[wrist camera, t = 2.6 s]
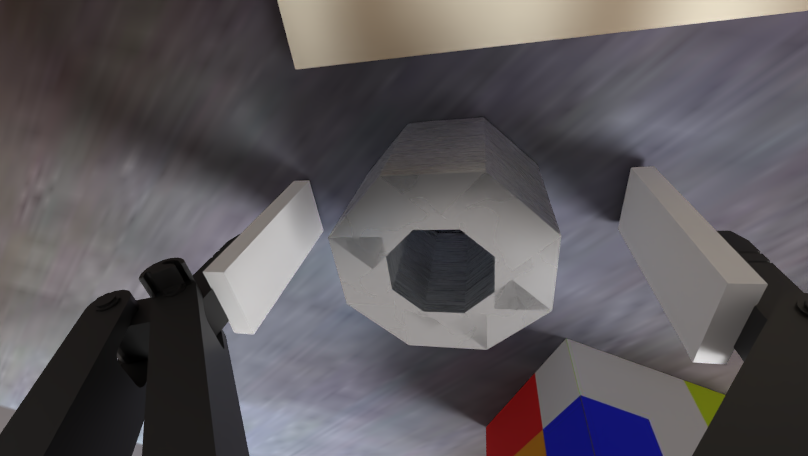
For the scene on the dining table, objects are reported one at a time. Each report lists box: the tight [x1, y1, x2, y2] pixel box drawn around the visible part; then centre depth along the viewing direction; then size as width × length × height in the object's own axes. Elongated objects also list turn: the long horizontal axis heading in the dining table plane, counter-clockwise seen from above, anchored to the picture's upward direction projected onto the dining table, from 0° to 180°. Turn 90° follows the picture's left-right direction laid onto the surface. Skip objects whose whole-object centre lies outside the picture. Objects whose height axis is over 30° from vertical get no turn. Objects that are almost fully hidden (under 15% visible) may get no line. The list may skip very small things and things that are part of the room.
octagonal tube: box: [328, 117, 561, 350], centre depth 14 cm, size 7×7×5 cm
